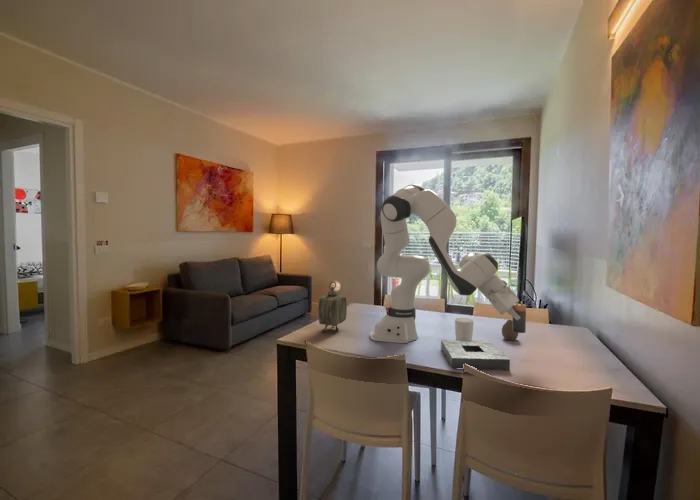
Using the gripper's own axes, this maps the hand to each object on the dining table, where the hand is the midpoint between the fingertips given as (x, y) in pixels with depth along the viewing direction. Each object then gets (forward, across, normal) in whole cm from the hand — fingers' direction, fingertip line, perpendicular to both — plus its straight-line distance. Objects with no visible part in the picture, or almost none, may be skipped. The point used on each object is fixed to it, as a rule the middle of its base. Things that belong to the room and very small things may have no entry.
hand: (520, 317), depth 120 cm
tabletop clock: (-46, -12, +71) cm, 85 cm away
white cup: (-5, +11, +30) cm, 32 cm away
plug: (+3, 0, +4) cm, 5 cm away
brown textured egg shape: (+6, +27, +19) cm, 33 cm away
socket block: (+1, -7, +23) cm, 24 cm away
